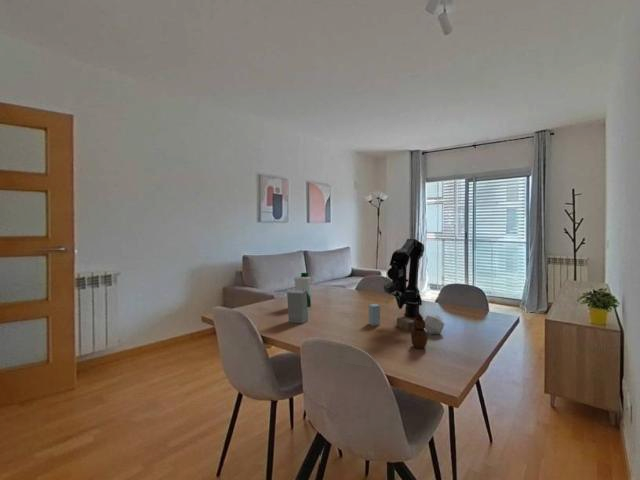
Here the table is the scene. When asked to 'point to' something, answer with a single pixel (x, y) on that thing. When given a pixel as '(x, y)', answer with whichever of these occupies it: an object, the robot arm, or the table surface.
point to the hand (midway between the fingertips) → (400, 308)
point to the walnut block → (405, 323)
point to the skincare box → (297, 306)
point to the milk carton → (303, 285)
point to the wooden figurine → (419, 332)
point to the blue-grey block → (374, 314)
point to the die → (433, 324)
